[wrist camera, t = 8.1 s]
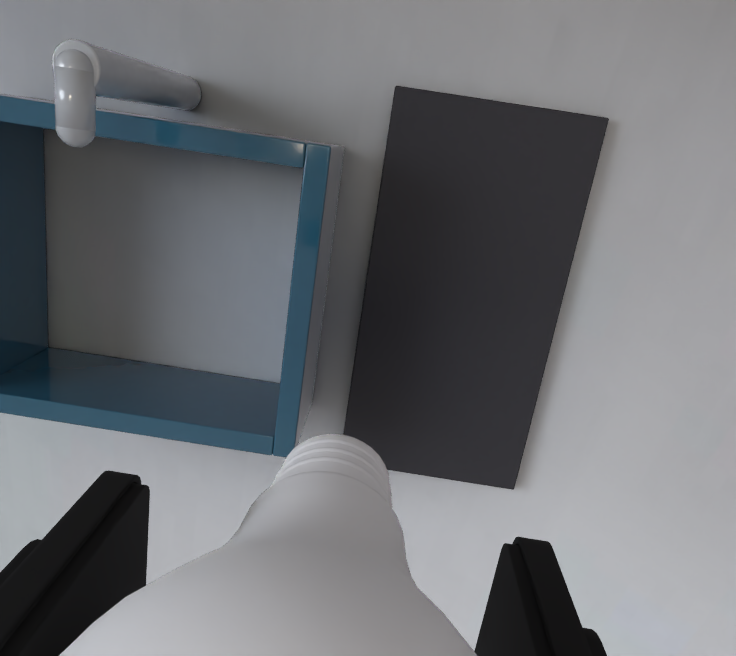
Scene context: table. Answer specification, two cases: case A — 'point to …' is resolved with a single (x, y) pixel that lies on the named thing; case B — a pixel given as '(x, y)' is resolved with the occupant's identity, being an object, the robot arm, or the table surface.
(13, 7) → the table surface
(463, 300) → the mat
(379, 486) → the lightbulb
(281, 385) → the sink
